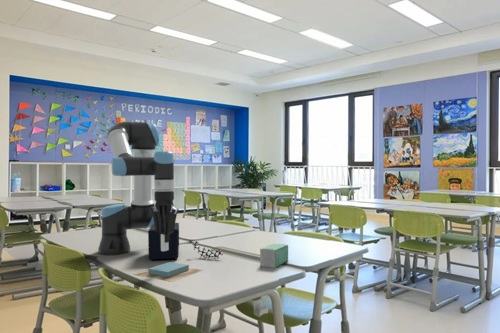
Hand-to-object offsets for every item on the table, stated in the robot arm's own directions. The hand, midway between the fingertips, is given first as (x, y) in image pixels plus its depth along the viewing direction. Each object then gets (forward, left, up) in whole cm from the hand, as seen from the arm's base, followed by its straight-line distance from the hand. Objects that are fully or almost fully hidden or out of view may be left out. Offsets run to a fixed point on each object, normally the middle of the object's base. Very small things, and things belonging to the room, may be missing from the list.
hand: (164, 250), depth 152 cm
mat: (+2, 0, -9) cm, 9 cm away
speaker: (-20, +21, -9) cm, 30 cm away
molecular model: (0, +27, -9) cm, 29 cm away
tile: (-3, 0, -7) cm, 8 cm away
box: (+31, +35, -9) cm, 47 cm away
